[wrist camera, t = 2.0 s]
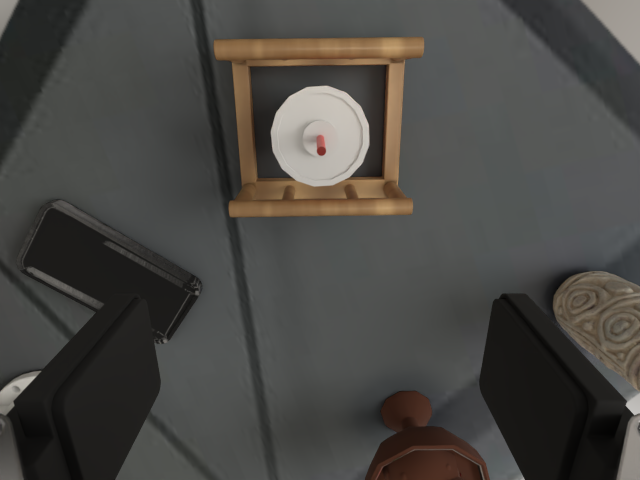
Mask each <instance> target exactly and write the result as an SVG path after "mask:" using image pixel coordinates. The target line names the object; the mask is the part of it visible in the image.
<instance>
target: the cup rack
mask: <svg viewBox="0 0 640 480" xmlns="http://www.w3.org/2000/svg"><path fill="white" fill-rule="evenodd" d="M423 51H424V39H423V37H379V38H296V39H216V40H214V55H215V58H216V60H226V61H230V62H232V70H233V82H234V95H235V107H236V119H237V132H238V144H239V157H240V169H241V182H242V189H241V191H240V192H239V194H238V195H237V197H236V198H235V200H233V201H230V202H229V215H230V217H286V216H355V215H411V214H412V210H413V202H412V199H411V198H407V197H406V196H405V195H404V193H403V192H402V191H401V190H400V188H399V187H398V172H399V154H400V136H401V119H402V101H403V83H404V65H405V60H406V59H411V58H421V57H422V55H423ZM338 65H386V88H385V112H384V136H383V160H382V177H349V178H347V179H345V180H343V181H341V182H339V183H336V184H334V185H330V186H315V187H314V186H311V185H308V184H305V183H302V182H299V181H296V180H295V179H294V178H258V177H257V162H256V147H255V132H254V117H253V102H252V86H251V71H250V67H258V66H338ZM344 198H347V199H344ZM359 198H373V199H359ZM274 199H282V200H274ZM294 199H303V200H294Z"/></svg>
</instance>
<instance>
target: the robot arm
mask: <svg viewBox="0 0 640 480" xmlns="http://www.w3.org/2000/svg"><path fill="white" fill-rule="evenodd" d="M160 385H161V380H160V374H159V368H158V362H157V357H156V351H155V345H154V339H153V334H152V328H151V322H150V316H149V311H148V305H147V302H146V300H145V299H141V298H140V296H139V295H138V294H114V295H113V296H112V297H111V298H110V299H109V300H108V301H107V302H106V303H105V304H104V305H103V306H102V307H101V308H100V309H99V310H98V311H97V312H96V314H95V315H94V316H93V317H92V318H91V319H90V320H89V321H88V322H87V323H86V324H85V325H84V326H83V327H82V328H81V330H80V331H79V332H78V333H77V334H76V335H75V336H74V337H73V338H72V339H71V340H70V341H69V342H68V343H67V344H66V345H65V347H64V348H63V349H62V350H61V351H60V352H59V353H58V354H57V355H56V356H55V357H54V358H53V359H52V360H51V361H50V362H49V364H48V365H47V366H46V367H45V368H44V369H43V370H42V371H34V372H30V373H26V374H23V375H21V376H19V377H17V378H15V379H13V380H12V381H11V382H10V383H8V384H7V385H6V386H5V387H4V388H3V389H2V390H1V392H0V480H115V479H116V477H117V475H118V473H119V471H120V469H121V467H122V465H123V463H124V461H125V459H126V457H127V455H128V453H129V451H130V449H131V447H132V445H133V443H134V441H135V439H136V437H137V435H138V433H139V431H140V429H141V427H142V425H143V423H144V421H145V419H146V417H147V415H148V413H149V411H150V410H151V408H152V406H153V404H154V402H155V400H156V398H157V396H158V393H159V390H160ZM479 385H480V390H481V393H482V396H483V398H484V400H485V402H486V404H487V406H488V408H489V410H490V411H491V413H492V415H493V417H494V419H495V421H496V423H497V425H498V427H499V429H500V431H501V433H502V435H503V437H504V439H505V441H506V443H507V445H508V447H509V449H510V451H511V453H512V455H513V457H514V459H515V461H516V463H517V465H518V467H519V469H520V471H521V473H522V475H523V477H524V479H525V480H640V414H637V415H635V416H634V414H633V413H632V412H631V411H630V410H629V409H628V408H627V407H626V406H625V405H626V402H627V401H626V400H625V399H624V398H623V397H622V395H621V394H620V393H619V392H618V391H617V390H616V389H615V388H614V387H613V386H612V385H611V384H610V383H609V382H608V381H607V380H606V378H605V377H604V376H603V375H602V374H601V373H600V372H599V371H598V370H597V369H596V368H595V367H594V366H593V365H592V364H591V362H590V361H589V360H588V359H587V358H586V357H585V356H584V355H583V354H582V353H581V352H580V351H579V350H578V349H577V348H576V347H575V345H574V344H573V343H572V342H571V341H570V340H569V339H568V338H567V337H566V336H565V335H564V334H563V333H562V332H561V331H560V330H559V328H558V327H557V326H556V325H555V324H554V323H553V322H552V321H551V320H550V319H549V318H548V317H547V316H546V315H545V314H544V312H543V311H542V310H541V309H540V308H539V307H538V306H537V305H536V304H535V303H534V302H533V301H532V300H531V299H530V298H529V297H528V296H527V295H526V294H502V295H501V296H500V298H499V299H495V300H494V302H493V305H492V311H491V316H490V322H489V328H488V334H487V339H486V345H485V351H484V357H483V362H482V368H481V374H480V380H479Z"/></svg>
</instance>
